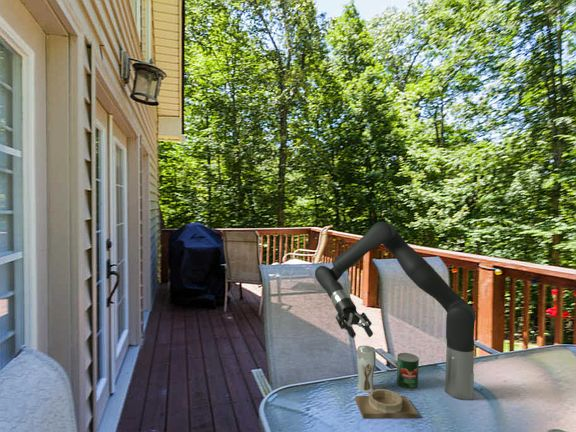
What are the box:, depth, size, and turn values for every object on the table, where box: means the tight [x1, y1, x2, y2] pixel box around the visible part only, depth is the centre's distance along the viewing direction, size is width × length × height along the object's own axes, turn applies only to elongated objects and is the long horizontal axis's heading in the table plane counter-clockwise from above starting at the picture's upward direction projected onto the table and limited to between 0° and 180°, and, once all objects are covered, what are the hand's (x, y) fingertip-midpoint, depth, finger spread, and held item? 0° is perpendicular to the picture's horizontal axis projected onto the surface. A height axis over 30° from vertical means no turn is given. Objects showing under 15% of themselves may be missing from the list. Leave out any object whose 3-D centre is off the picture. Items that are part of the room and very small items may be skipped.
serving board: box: [354, 388, 419, 419], centre depth 122 cm, size 18×11×4 cm, turn 93°
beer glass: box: [356, 345, 377, 393], centre depth 135 cm, size 7×7×15 cm
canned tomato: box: [395, 352, 420, 391], centre depth 139 cm, size 8×8×11 cm
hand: (362, 336), depth 135 cm, fingers open, 8 cm apart
